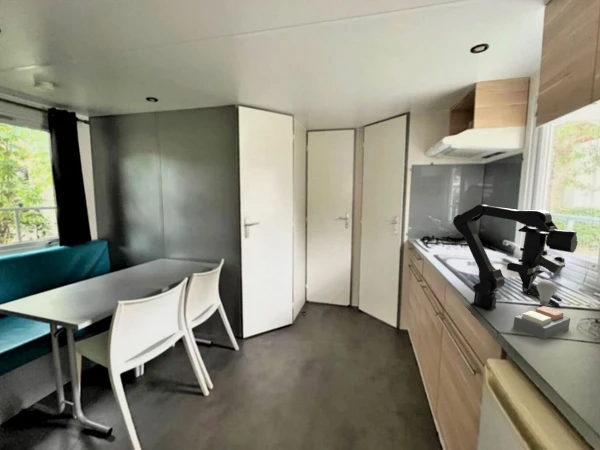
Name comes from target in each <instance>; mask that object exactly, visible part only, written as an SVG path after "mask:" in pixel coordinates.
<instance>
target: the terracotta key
mask: <svg viewBox="0 0 600 450" xmlns="http://www.w3.org/2000/svg"><path fill="white" fill-rule="evenodd" d="M536 312H537V313H540V314H543V315H545V316H548V317H551V319H553V320H555V321H556V320H559V319H561V318H563V316H564V315H565V312H564V311H561V310H557V309H555V308H551V307H548V306H542V305H541V306H540V307H536Z"/></svg>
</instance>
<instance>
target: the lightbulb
mask: <svg viewBox="0 0 600 450" xmlns="http://www.w3.org/2000/svg"><path fill="white" fill-rule="evenodd" d="M537 289H538V292H539V294H540V297H539V305H541V307H542V306H546V307H548V305H549V304H550V303H549V301H550V299H552V298H551V296H552V295H553V294H554V295H556V292H557V290H558V288H557V285H556V284H555V283H554V282H553V281H551V280H548V279H543V280H540V281H539V282H537Z"/></svg>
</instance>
